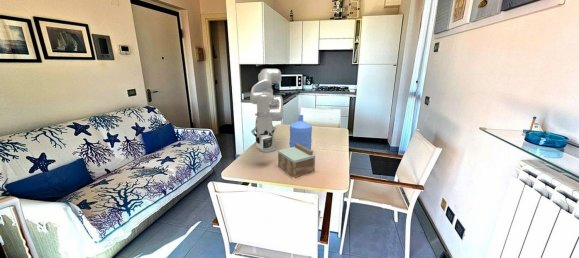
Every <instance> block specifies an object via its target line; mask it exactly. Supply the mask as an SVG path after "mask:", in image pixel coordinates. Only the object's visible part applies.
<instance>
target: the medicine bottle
mask: <svg viewBox="0 0 579 258" xmlns="http://www.w3.org/2000/svg"><path fill="white" fill-rule="evenodd" d="M259 140H260V143H259V144H258V143H257V142H256V141H255V143H256V148H258V149H259V148H261V149H263V150H264V149H267V148H270V147H272V136H269V133H268V131H267V130H266V131H264V133H263V134H260V135H259Z"/></svg>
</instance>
